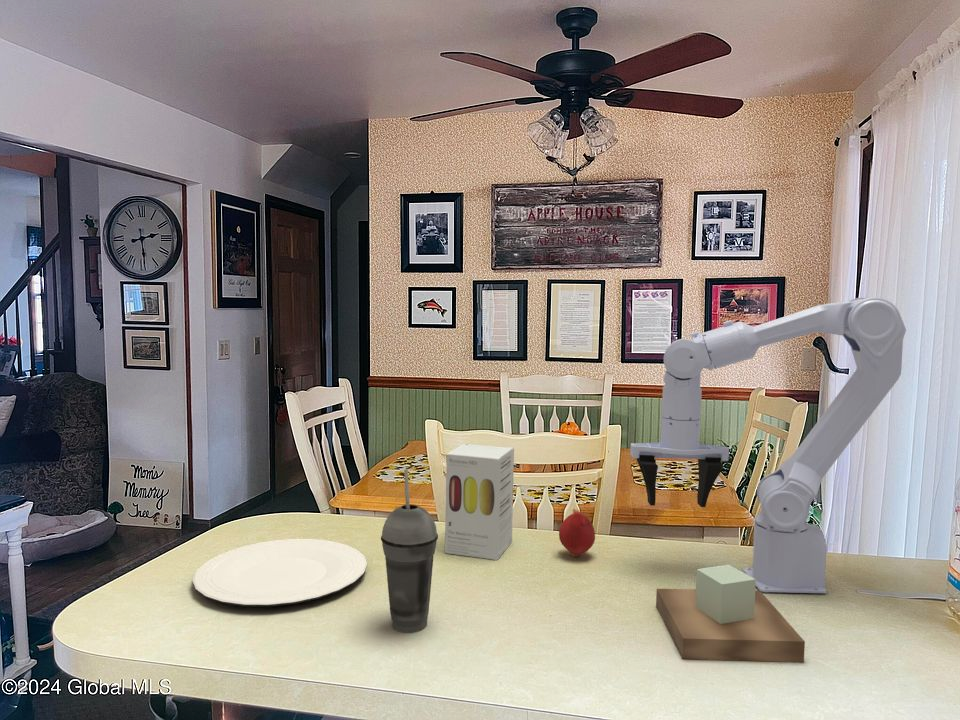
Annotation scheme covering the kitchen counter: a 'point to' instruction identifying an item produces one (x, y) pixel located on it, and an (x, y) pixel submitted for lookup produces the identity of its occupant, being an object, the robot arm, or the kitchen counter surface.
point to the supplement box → (479, 500)
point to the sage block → (725, 593)
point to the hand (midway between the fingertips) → (676, 504)
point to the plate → (279, 572)
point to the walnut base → (728, 631)
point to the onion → (577, 533)
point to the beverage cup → (409, 563)
